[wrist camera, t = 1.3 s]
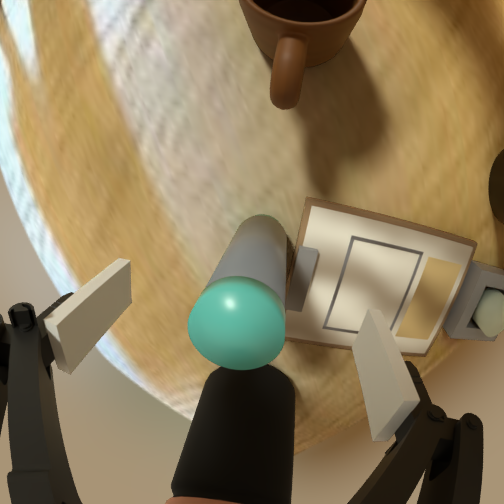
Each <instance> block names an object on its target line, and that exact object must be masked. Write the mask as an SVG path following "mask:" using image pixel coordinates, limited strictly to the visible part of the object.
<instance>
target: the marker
mask: <svg viewBox="0 0 504 504" xmlns="http://www.w3.org/2000/svg"><path fill="white" fill-rule="evenodd" d="M286 256H287V237H286V233H285V230H284V228H283V227H282V226H281V224H280V223H279V222H278V221H277V220H276V219H275V218H273V217H271V216H269V215H264V214H260V215H255V216H253V217H250V218H248V219H246V220H245V221H244V222H242V224H241V225H240V226H239V228H238V229H237V231H236V233H235V235H234V237H233V238H232V240H231V242H230V244H229V246H228V247H227V249H226V251H225V253H224V255H223V257H222V258H221V260H220V262H219V264H218V266H217V267H216V269H215V271H214V273H213V275H212V277H211V278H210V280H209V282H208V284H207V286H206V288H205V289H204V290H203V292H202V293H201V295H200V297H199V298H198V300H197V302H196V304H195V306H194V308H193V309H192V311H191V313H190V316H189V319H188V333H189V336H190V339H191V341H192V343H193V345H194V346H195V348H196V349H197V350H198V351H199V352H200V353H201V354H202V355H203V356H204V357H205V358H207V359H208V360H210V361H211V362H213V363H215V364H217V365H219V366H222V367H225V368H229V369H235V370H250V369H255V368H259V367H262V366H264V365H266V364H268V363H270V362H271V361H272V360H274V359H275V358H276V357H277V356H278V354H279V353H280V351H281V350H282V348H283V345H284V341H285V321H286V314H285V292H286Z"/></svg>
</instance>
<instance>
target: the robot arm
mask: <svg viewBox="0 0 504 504" xmlns="http://www.w3.org/2000/svg"><path fill="white" fill-rule="evenodd" d="M131 303H132V299H131V267H130V260H125V259H121V258H118V259H117V260H116V261H114V262H113V263H112V264H110V265H109V266H108V267H107V268H105V269H104V270H103V271H101V272H100V273H99V274H98V275H96V276H95V277H94V278H93V279H91V280H90V281H89V282H88V283H86V284H85V285H84V286H83V287H81V288H80V289H79V290H78V291H76V292H75V293H72V292H71V293H68V294H66V295H63V296H62V297H61V298H59V299H58V300H57V301H56V302H54V303H53V304H52V305H51V306H50V307H48V308H47V309H46V310H45V311H44V312H42V313H41V314H40V315H39V316H38V317H37V318H36V315H35V311H34V307H33V306H32V305H31V304H29V303H23V302H22V303H18V304H15V305H13V306H12V307H11V308H10V309H9V311H8V314H9V318H10V321H11V324H12V325H11V324H6V323H4V321H3V317H2V315H1V314H0V434H1V429H2V424H3V419H4V415H5V410H6V406H7V402H8V427H9V441H10V450H11V459H12V468H13V469H12V471H11V472H9V473H8V475H7V482H8V488H9V493H10V498H11V503H12V504H82V502H81V500H80V498H79V496H78V493H77V490H76V487H75V484H74V481H73V477H72V474H71V470H70V467H69V463H68V459H67V455H66V452H65V447H64V443H63V438H62V433H61V429H60V423H59V418H58V412H57V405H56V398H55V391H54V382H53V372H52V367H51V363H52V362H53V361H54V359H55V361H56V364H57V367H58V369H60V370H62V371H64V372H66V373H68V374H71V373H72V372H73V371H74V369H75V368H76V367H77V366H78V365H79V363H80V362H81V361H82V360H83V359H84V357H85V356H86V355H87V354H88V353H89V351H90V350H91V349H92V348H93V347H94V346H95V344H96V343H97V342H98V341H99V340H100V338H101V337H102V336H103V335H104V334H105V333H106V331H107V330H108V329H109V328H110V327H111V326H112V325H113V323H114V322H115V321H116V320H117V319H118V318H119V317H120V315H121V314H122V313H123V312H124V311H125V310H126V309H127V307H128V306H129V305H130V304H131ZM352 351H353V355H354V359H355V363H356V367H357V371H358V375H359V379H360V384H361V388H362V392H363V397H364V402H365V406H366V411H367V416H368V421H369V426H370V431H371V436H372V441H388V440H389V439H390V438H391V437H392V436H393V434H394V433H395V436H396V441H395V443H394V444H392V446H391V447H390V448H389V449H388V450H387V451H386V452H385V454H386V455H385V456H384V458H383V459H382V461H381V462H380V463H379V465H378V466H377V467H376V469H375V470H374V471H373V473H372V474H371V475H370V477H369V478H368V479H367V480H366V482H365V483H364V484H363V486H362V487H361V488H360V489H359V490H358V492H357V493H356V494H355V495H354V496H353V498H352V499H351V500H350V501H349V502H348V503H347V504H406V503H407V501H408V499H409V498H410V496H411V494H412V493H413V491H414V489H415V488H416V485H417V484H418V482H419V480H420V479H421V477H422V475H423V473H424V471H425V474H424V479H423V483H422V487H421V491H420V494H419V498H418V501H417V504H479V503H480V494H481V485H482V472H483V471H482V470H483V425H482V422H481V420H480V419H479V418H478V417H477V416H476V415H474V414H472V413H466V414H464V415H463V416H462V417H461V418H460V420H456V419H452V418H447V416H446V413H445V412H444V410H443V409H441V408H440V407H439V406H436V405H434V404H432V402H431V400H430V398H429V395H428V393H427V390H426V388H425V386H424V384H423V381H422V379H421V378H420V374H419V372H418V370H417V368H416V367H415V366H414V365H413V364H412V363H411V362H410V361H404V360H403V357H402V355H401V353H400V350H399V348H398V346H397V344H396V342H395V339H394V337H393V335H392V333H391V331H390V329H389V326H388V324H387V322H386V320H385V318H384V316H383V314H382V312H381V310H377V309H371V308H368V310H367V313H366V315H365V318H364V320H363V323H362V325H361V327H360V330H359V332H358V335H357V337H356V339H355V342H354V344H353V346H352ZM425 469H426V470H425Z"/></svg>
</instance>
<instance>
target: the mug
mask: <svg viewBox="0 0 504 504" xmlns="http://www.w3.org/2000/svg"><path fill="white" fill-rule="evenodd" d="M366 1H367V0H239V3H240V6H241V8H242V11H243V13H244V16H245V18H246V21H247V23H248V26H249V28H250V31H251V33H252V36H253V38H254V40H255V42H256V44H257V46H258V47H259V48H260V49H261V50H262V51H263V52H264V53H265V54H266V55H267V56H268V57H270V58H271V59H273V60H274V62H273V68H272V74H271V82H270V99H271V101H272V103H273V104H274V105H275V106H276V107H277V108H280V109H282V110H285V109H291V108H293V107H294V106H295V105H296V104H297V103H298V101H299V97H300V92H301V86H302V80H303V74H304V68H305V67H312V66H316V65H319V64H322V63H324V62H326V61H328V60H330V59H331V58H332V57H334V56H335V55H336V54H337V53H338V51H339V50H340V49H341V48H342V46H343V44H344V43H345V41H346V40H347V38H348V37H349V35H350V33H351V32H352V30H353V28H354V27H355V25H356V23H357V22H358V20H359V18H360V17H361V15H362V12H363V9H364V6H365V4H366Z"/></svg>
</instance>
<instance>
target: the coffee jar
mask: <svg viewBox="0 0 504 504" xmlns="http://www.w3.org/2000/svg"><path fill="white" fill-rule="evenodd" d="M294 428H295V392H294V387H293V386H292V384H291V383H290V381H289V380H288V378H287V377H286V376H285V375H284V374H283V373H282V372H280V371H279V370H278V369H276V368H275V367H273V366H270V365H268V364H266V365H264V366H262V367H259V368H255V369H250V370H235V369H229V368H225V367H222V366H221V367H219V368H218V369H216V370H215V371H213V372H212V373H211V374H210V375H209V377H208V379H207V380H206V382H205V385H204V388H203V391H202V394H201V397H200V400H199V403H198V406H197V409H196V412H195V415H194V418H193V420H192V423H191V426H190V429H189V432H188V435H187V438H186V441H185V444H184V447H183V450H182V453H181V456H180V459H179V462H178V465H177V468H176V471H175V474H174V477H173V480H172V483H171V489H172V492H173V494H174V496H173V497H172V498H170V499H168V500H167V501H166V503H165V504H291V493H292V475H293V456H294Z"/></svg>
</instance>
